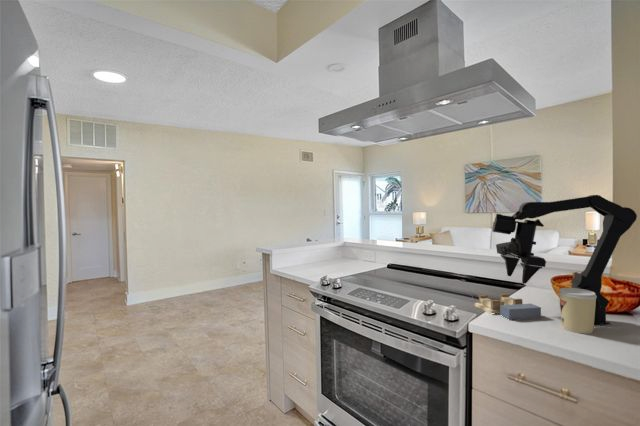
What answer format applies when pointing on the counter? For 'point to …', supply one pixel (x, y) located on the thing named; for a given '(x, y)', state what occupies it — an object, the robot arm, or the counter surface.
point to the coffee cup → (577, 309)
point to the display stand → (495, 303)
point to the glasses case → (520, 311)
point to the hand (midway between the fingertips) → (516, 279)
